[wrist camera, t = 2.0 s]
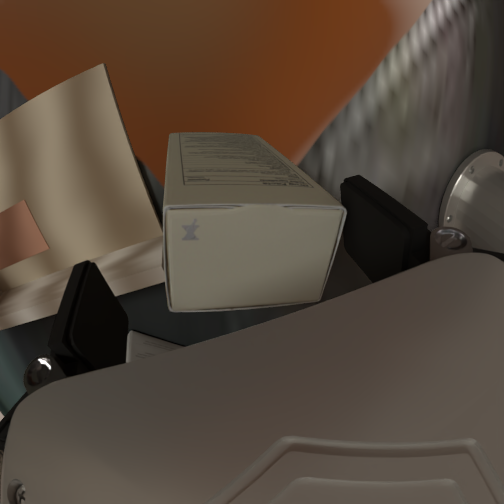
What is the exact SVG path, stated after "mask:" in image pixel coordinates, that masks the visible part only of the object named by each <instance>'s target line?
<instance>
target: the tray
mask: <svg viewBox="0 0 504 504" xmlns="http://www.w3.org/2000/svg"><path fill="white" fill-rule="evenodd" d="M86 260H89V261H90V262H91V263H92V262H95V263H96V265H97V266H98V268H99V270H100V272H101V273H102V275H103V277H104V278H105V280H106V282H107V283H108V285H109V287H110V288H111V290H112V292H113V293H114V295H115V296H118V295H122V294H125V293H128V292H132V291H135V290H138V289H142V288H145V287H148V286H152V285H155V284H159V283H162V282H165V275H164V256H163V228H162V225H161V223H160V220H159V218H158V215H157V213H156V210H155V208H154V205H153V202H152V200H151V197H150V195H149V192H148V189H147V187H146V184H145V181H144V179H143V176H142V173H141V171H140V168H139V165H138V162H137V160H136V157H135V154H134V151H133V148H132V146H131V143H130V140H129V137H128V134H127V131H126V128H125V125H124V122H123V119H122V116H121V113H120V110H119V107H118V104H117V101H116V97H115V94H114V91H113V88H112V84H111V81H110V77H109V74H108V71H107V67H106V64H104V63H103V64H101V65H98V66H96V67H94V68H92V69H89V70H87V71H85V72H83V73H81V74H79V75H76V76H74V77H73V78H70V79H68V80H67V81H64V82H62V83H61V84H59V85H57V86H55V87H53V88H51V89H49V90H47V91H46V92H44V93H42V94H40V95H39V96H37V97H35V98H33V99H32V100H30V101H28V102H27V103H25V104H23V105H22V106H20V107H19V108H17V109H15V110H14V111H12V112H11V113H9V114H8V115H6V116H5V117H3V118H2V119H0V330H3V329H6V328H10V327H13V326H16V325H20V324H23V323H27V322H30V321H33V320H37V319H40V318H44V317H47V316H50V315H54V314H57V312H58V309H59V306H60V303H61V300H62V297H63V294H64V291H65V288H66V286H67V283H68V280H69V277H70V275H71V272H72V269H73V267H74V265H75V264H78V263H80V262H83V261H86Z"/></svg>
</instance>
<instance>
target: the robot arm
mask: <svg viewBox="0 0 504 504" xmlns="http://www.w3.org/2000/svg"><path fill="white" fill-rule="evenodd" d="M340 190H341V203H342V205H343V206H344V207H345V208H346V210H347V215H346V219H345V223H344V227H343V234H344V246H345V249H346V251H347V253H348V254H349V255H350V256H351V257H352V258H353V260H354V261H355V262H356V263H357V264H358V266H359V267H360V268H361V269H362V270H363V271H364V273H365V274H366V275H367V276H368V277H369V279H370V280H371V281H372V282H373V284H370V285H367V286H365V287H362V288H360V289H357V290H355V291H352V292H349V293H347V294H344V295H341V296H339V297H336V298H333V299H330V300H328V301H325V302H322V303H320V304H317V305H314V306H311V307H308V308H306V309H303V310H300V311H297V312H294V313H291V314H288V315H285V316H282V317H280V318H277V319H274V320H271V321H268V322H265V323H262V324H258V325H255V326H252V327H249V328H246V329H243V330H240V331H237V332H234V333H230V334H227V335H224V336H221V337H217V338H214V339H211V340H207V341H204V342H201V343H197V344H194V345H190V346H187V347H183V348H180V349H176V350H173V351H169V352H165V353H162V354H158V355H154V356H151V357H147V358H143V359H139V360H136V361H132V362H128V363H126V353H127V336H128V317H127V314H126V312H125V311H124V309H123V308H122V306H121V305H120V303H119V301H118V300H117V298H116V297H115V295H114V293H113V292H112V290H111V288H110V287H109V285H108V283H107V282H106V280H105V278H104V277H103V275H102V273H101V272H100V270H99V268H98V266H97V265H96V263H95V262H92V263H91V262H90V261H89V260H86V261H83V262H80V263H78V264H75V265H74V267H73V269H72V272H71V275H70V277H69V280H68V283H67V286H66V288H65V291H64V294H63V297H62V300H61V303H60V306H59V309H58V312H57V315H56V319H55V322H54V325H53V328H52V332H51V335H50V339H49V343H48V347H49V348H50V349H51V353H50V355H49V354H42V355H40V356H38V357H36V358H35V359H33V360H32V361H31V363H30V364H29V365H28V367H27V368H26V370H25V373H24V376H23V382H24V386H25V388H26V390H27V392H26V393H25V394H24V395H23V396H22V397H21V398H20V399H19V401H18V402H17V403H16V404H15V405H14V406H13V407H12V409H11V410H10V411H9V412H8V413H7V414H6V416H5V417H4V418H3V419H2V420H1V421H0V504H504V157H503V156H502V155H500V154H499V153H497V152H495V151H493V150H489V149H483V150H479V151H477V152H475V153H473V154H471V155H470V156H469V157H468V158H466V159H465V160H464V161H463V163H462V164H461V165H460V166H459V167H458V169H457V170H456V172H455V173H454V175H453V176H452V178H451V180H450V182H449V184H448V186H447V188H446V191H445V194H444V196H443V199H442V203H441V207H440V213H439V227H438V228H436V229H434V230H433V231H432V232H430V231H429V230H428V229H427V226H428V224H427V223H426V222H425V221H423V220H422V219H421V218H419V217H418V216H417V215H415V214H414V213H413V212H411V211H410V210H409V209H407V208H406V207H405V206H403V205H402V204H401V203H399V202H398V201H397V200H395V199H394V198H392V197H391V196H390V195H388V194H387V193H385V192H384V191H382V190H381V189H380V188H378V187H377V186H375V185H374V184H372V183H371V182H369V181H368V180H366V179H365V178H363V177H362V176H360V175H356V176H352V177H348V178H345V179H344V183H341V185H340Z"/></svg>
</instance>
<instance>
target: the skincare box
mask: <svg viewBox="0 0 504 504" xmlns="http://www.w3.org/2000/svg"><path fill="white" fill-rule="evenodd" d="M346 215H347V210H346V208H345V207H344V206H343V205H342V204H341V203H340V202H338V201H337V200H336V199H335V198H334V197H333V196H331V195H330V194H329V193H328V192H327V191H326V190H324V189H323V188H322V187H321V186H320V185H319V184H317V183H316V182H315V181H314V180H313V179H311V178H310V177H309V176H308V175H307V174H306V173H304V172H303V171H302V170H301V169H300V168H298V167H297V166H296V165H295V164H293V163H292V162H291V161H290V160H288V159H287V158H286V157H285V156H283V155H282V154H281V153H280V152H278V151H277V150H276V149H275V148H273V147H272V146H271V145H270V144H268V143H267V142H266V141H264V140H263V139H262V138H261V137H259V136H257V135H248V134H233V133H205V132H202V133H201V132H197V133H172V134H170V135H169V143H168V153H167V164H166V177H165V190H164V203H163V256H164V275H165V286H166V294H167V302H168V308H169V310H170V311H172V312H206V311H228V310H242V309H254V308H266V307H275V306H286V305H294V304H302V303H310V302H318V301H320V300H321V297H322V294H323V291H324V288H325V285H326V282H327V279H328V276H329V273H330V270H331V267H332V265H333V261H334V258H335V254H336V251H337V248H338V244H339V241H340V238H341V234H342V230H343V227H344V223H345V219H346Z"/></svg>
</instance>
